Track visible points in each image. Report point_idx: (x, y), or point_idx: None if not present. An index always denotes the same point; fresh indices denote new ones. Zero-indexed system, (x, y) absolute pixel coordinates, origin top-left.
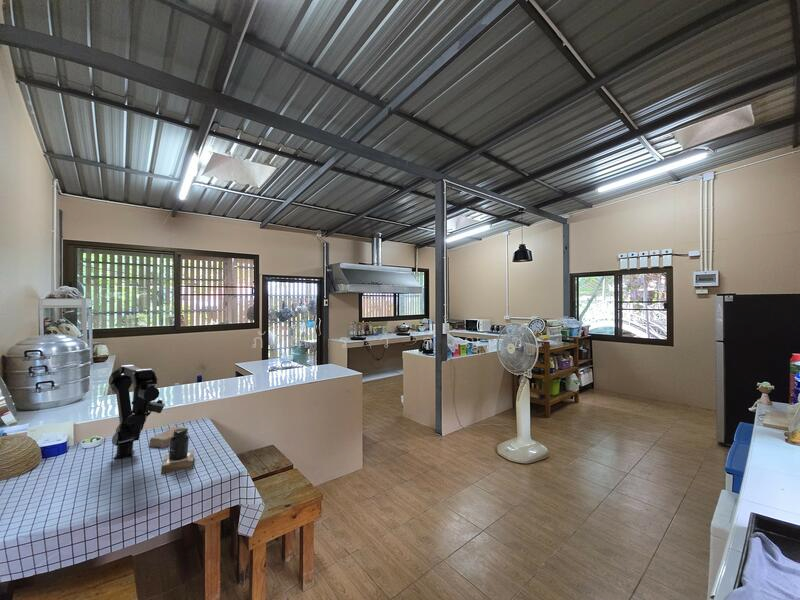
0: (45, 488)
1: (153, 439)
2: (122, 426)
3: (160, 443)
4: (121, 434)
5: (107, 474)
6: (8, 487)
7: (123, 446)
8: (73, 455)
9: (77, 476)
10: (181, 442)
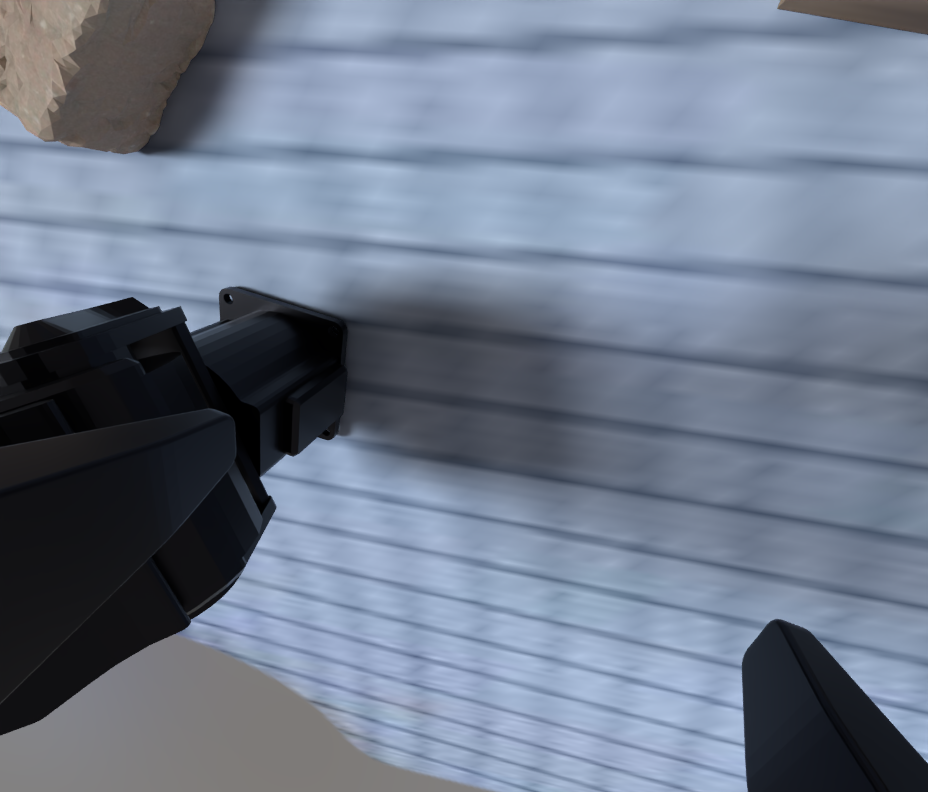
0: (589, 733)
1: (75, 106)
2: (62, 678)
3: (164, 23)
4: (214, 591)
5: (636, 516)
6: (452, 777)
7: (276, 435)
8: None
9: (520, 623)
10: None
